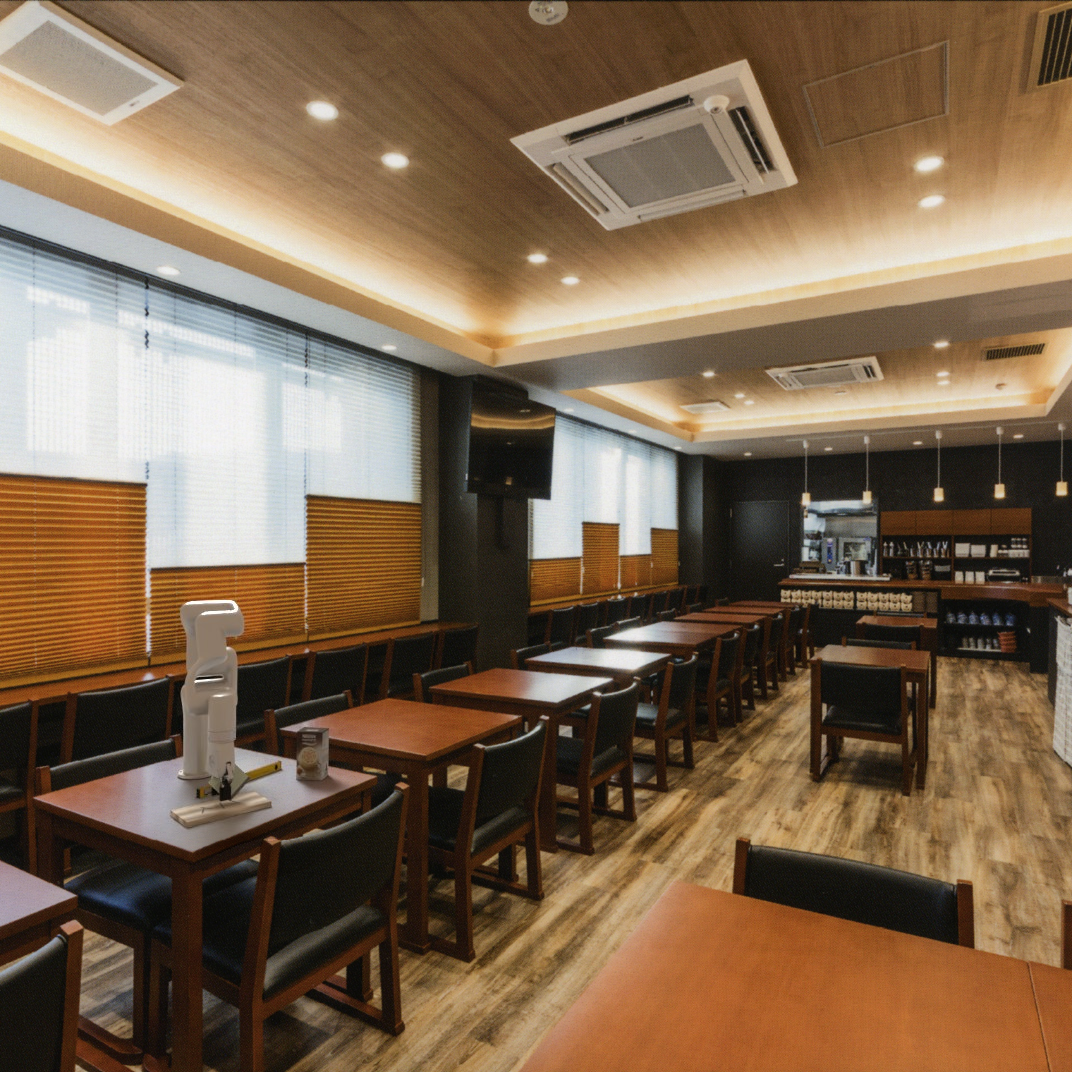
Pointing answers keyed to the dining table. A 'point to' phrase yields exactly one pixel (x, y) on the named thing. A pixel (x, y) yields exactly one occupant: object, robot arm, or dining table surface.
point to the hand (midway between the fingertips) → (221, 797)
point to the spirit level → (252, 774)
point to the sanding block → (237, 782)
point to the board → (219, 809)
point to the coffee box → (312, 753)
